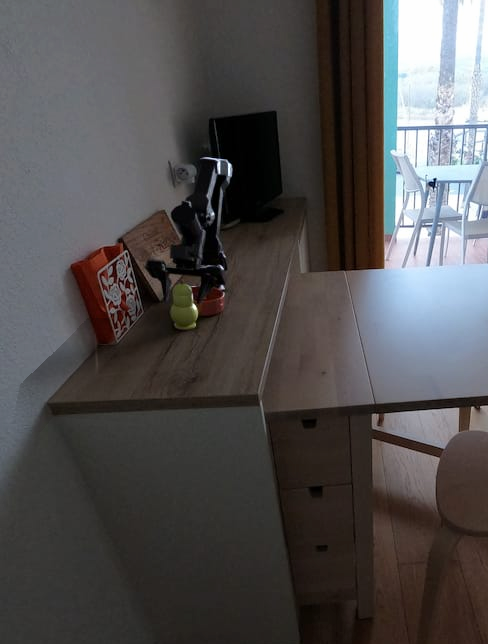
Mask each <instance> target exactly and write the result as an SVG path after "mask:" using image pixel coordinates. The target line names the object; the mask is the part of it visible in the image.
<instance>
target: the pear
mask: <svg viewBox="0 0 488 644" xmlns="http://www.w3.org/2000/svg"><path fill="white" fill-rule="evenodd" d="M172 302H173V304H172V305H171V307H170V311H169V314H170V318H171V320H172V322H174V324H173V325H174V328H175V329H177V330H183V331H184V330H186V331H187V330H191V329H194V328H195V327H196V326H197V323H196V321H197V319H198V317H199V316H198V310H197V307H196V306H195V305H194V304H193V293H192V289H191V286H190V285H189V284H187V283H184V279H183V278H180V282H178V283H176V284H175V285H174V286H173V288H172Z"/></svg>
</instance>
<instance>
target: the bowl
mask: <svg viewBox="0 0 488 644" xmlns="http://www.w3.org/2000/svg"><path fill="white" fill-rule="evenodd" d="M190 287H191V289H192V293H193V304H194V305H195V306H196V307H197V310H198V317H209V316H210V317H211V316H214V315H217V314H219V313H221V312H222V311H224V310H225V307H226V299H225V292H224V291H222V290H220V289H218V288H215V287H213V288H212V289H211V290H210V291H209V292H208V293H207V295H206V296H205V297H204V299H203V300H202V302H201V303H200V304H199V305H197V304H196V301H197V295H198V291H199V288H200V285H192V286H190Z"/></svg>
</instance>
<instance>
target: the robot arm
mask: <svg viewBox="0 0 488 644" xmlns="http://www.w3.org/2000/svg"><path fill="white" fill-rule="evenodd" d="M198 164H199V169H198V174H197V177H196V181H195V184H194V188H193V191H192V193H191V194H190V195H188V196H186V197H185V200H182V201H181V204H179V205H177V206H175V207H173V209H172V210H171V211H170V218H171V220H172V223H173V224H174V227H175V229H176V230H177V233H178V234H179V235H180V242H179V243H178V244H170V245H169V246H170V248H169V259H172V264H174V265H175V266H173V265H167V264H166V262H165V260H164V259H156V258H148V259H147V260H146V261H145V265H144V269H145V271H146V272H147V273H148V274H149V276H150V277H151V278H153V279H157V280H158V281H159V282H160V285H161V290H162V291H161V292H162V295H163V301H164V303H168V301H169V298H170V294H171V293H170V292H171V286H172V279H171V278H170V275H177V276H188V277H197V278H200V283H199V286H200V288H199V291H198V295H197V301H196V304H197V305H199V304H200V303H201V302H202V300H203V299H204V297H205V296H206V295H207V293H208V292H209V291H210V290H211V289H212V288H213V287H215V288H218V289H220V290H222V291H223V292H224V291H225V290H226V289H225V287H224V286H225V285H227V278H228V277H227V273H226V272H228V270H229V269H228V268H229V267H228V265H229V264H228V259H227V257H226V255H225V252H224V247H223V245H222V243H221V241H220V229H221V216H222V205H223V197H224V194H223V193H224V191H225V190H226V189H227V188H228V187H229V185H230V181H231V178H232V176H233V165H232V164H231V163H230V162H229V161H228V159H221V158H212V157H202V158H199V163H198Z"/></svg>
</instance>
